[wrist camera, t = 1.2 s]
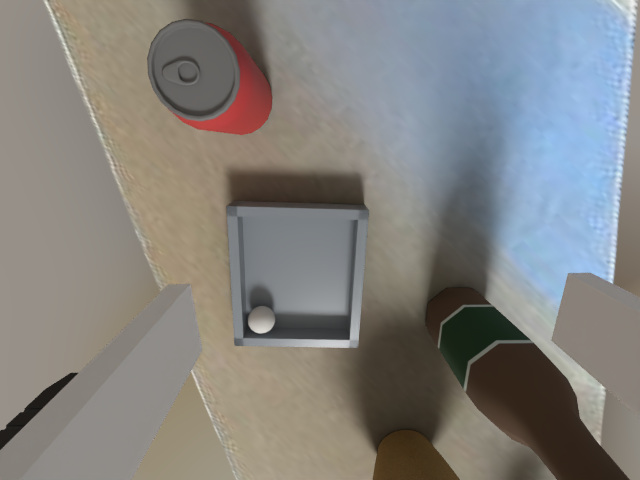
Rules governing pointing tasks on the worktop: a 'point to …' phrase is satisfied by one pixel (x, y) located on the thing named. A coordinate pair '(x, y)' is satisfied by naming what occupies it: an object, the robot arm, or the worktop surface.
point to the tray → (298, 271)
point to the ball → (261, 319)
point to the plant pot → (410, 459)
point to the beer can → (208, 78)
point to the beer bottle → (516, 385)
